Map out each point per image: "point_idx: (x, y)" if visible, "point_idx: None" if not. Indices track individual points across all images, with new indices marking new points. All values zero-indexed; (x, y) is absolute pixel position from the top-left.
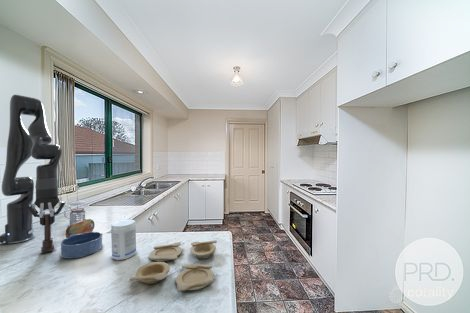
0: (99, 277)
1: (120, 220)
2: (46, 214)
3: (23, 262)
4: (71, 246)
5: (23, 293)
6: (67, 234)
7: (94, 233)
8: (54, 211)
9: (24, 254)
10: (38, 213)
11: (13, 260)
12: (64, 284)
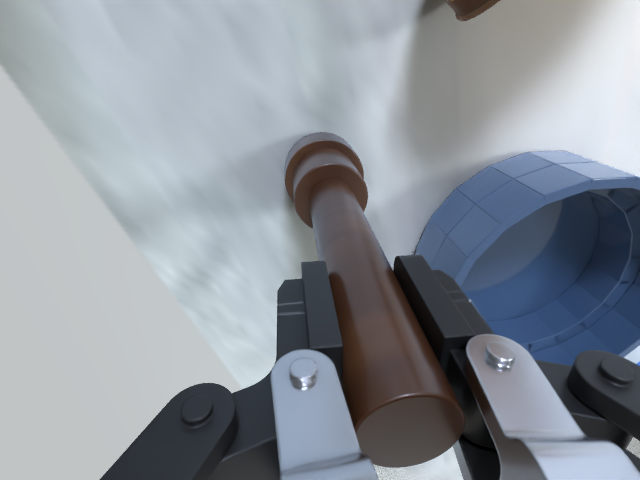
0: None
1: None
2: (399, 464)
3: (239, 271)
4: None
5: None
6: (457, 5)
7: None
8: (559, 429)
9: (175, 141)
10: (229, 468)
11: (161, 219)
12: (445, 466)
